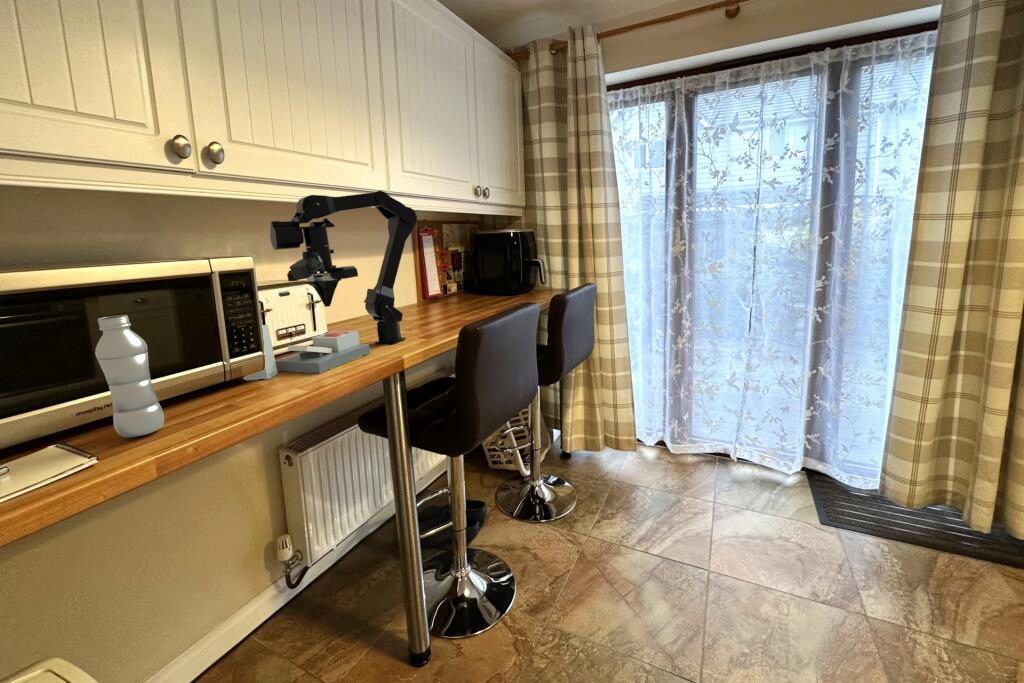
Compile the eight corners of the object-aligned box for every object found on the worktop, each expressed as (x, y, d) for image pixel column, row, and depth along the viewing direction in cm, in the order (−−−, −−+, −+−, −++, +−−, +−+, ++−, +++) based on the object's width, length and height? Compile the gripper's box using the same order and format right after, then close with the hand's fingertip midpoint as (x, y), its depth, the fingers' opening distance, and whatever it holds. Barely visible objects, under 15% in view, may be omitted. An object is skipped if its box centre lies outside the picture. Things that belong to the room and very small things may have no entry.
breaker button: (336, 344, 127) (334, 331, 126) (351, 344, 125) (349, 331, 124) (323, 348, 122) (320, 335, 122) (338, 349, 120) (336, 336, 120)
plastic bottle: (115, 436, 79) (83, 319, 75) (164, 423, 84) (136, 312, 80) (120, 446, 75) (85, 322, 70) (171, 431, 79) (141, 314, 75)
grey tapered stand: (278, 374, 111) (269, 324, 108) (267, 379, 107) (257, 328, 104) (254, 375, 112) (244, 325, 109) (242, 381, 108) (232, 329, 105)
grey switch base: (329, 352, 130) (325, 330, 129) (370, 353, 125) (367, 331, 124) (275, 371, 114) (271, 346, 113) (320, 373, 109) (315, 348, 108)
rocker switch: (313, 352, 120) (313, 347, 120) (331, 353, 118) (332, 347, 118) (287, 350, 113) (288, 344, 113) (306, 351, 110) (307, 345, 110)
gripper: (264, 250, 118) (276, 312, 121) (323, 246, 111) (334, 311, 115) (299, 248, 128) (309, 305, 131) (354, 243, 121) (363, 304, 125)
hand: (327, 306), depth 125 cm, fingers closed
